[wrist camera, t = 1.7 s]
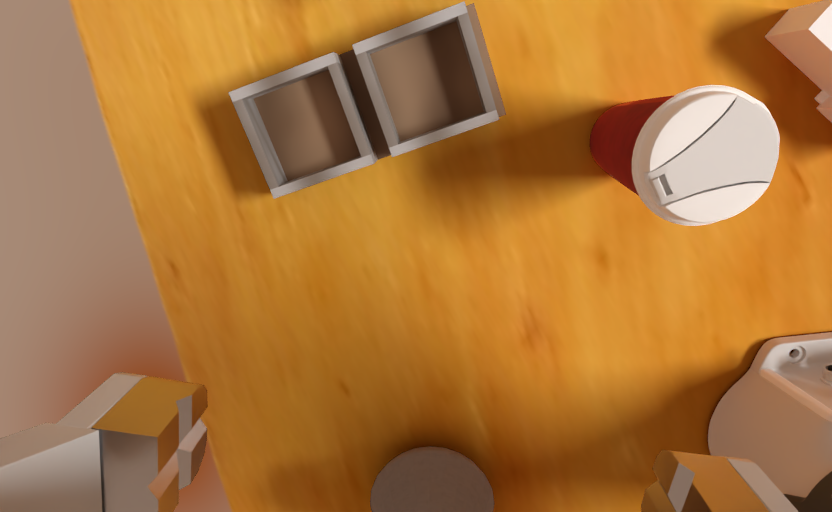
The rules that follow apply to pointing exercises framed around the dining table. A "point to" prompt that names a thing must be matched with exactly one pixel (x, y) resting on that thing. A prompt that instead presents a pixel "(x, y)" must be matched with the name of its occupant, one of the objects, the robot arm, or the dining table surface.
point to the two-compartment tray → (371, 100)
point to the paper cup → (690, 152)
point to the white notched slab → (809, 46)
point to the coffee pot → (431, 483)
